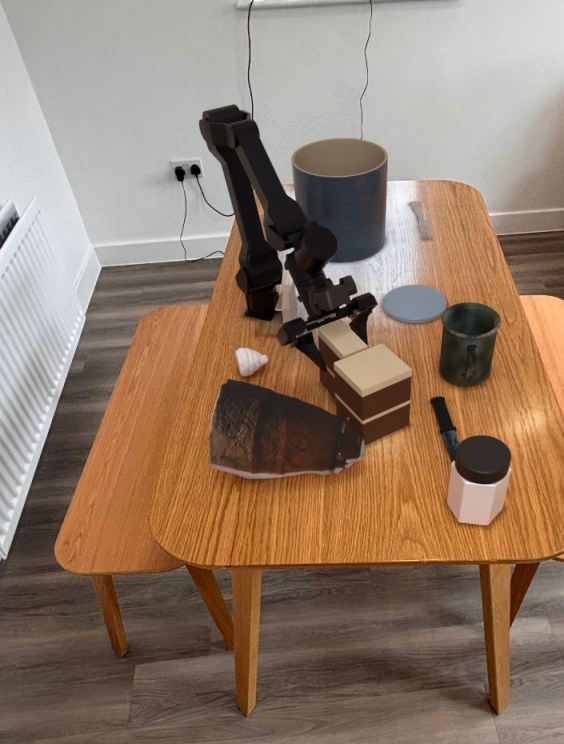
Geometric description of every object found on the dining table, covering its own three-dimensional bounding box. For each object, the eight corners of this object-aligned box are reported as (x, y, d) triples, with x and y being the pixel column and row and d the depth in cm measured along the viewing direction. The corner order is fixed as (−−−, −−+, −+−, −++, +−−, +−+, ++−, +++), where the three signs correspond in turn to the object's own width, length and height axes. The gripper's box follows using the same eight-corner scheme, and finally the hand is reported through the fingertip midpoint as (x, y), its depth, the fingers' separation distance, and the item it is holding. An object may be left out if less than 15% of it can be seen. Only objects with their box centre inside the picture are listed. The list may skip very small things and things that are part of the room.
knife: (429, 397, 119) (445, 395, 120) (429, 403, 121) (445, 400, 121) (456, 476, 106) (473, 473, 106) (455, 481, 107) (473, 479, 107)
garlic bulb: (272, 376, 127) (269, 353, 123) (242, 382, 126) (238, 359, 122) (266, 360, 130) (262, 337, 126) (237, 366, 129) (233, 343, 125)
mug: (489, 354, 130) (497, 301, 120) (496, 401, 120) (506, 347, 111) (435, 354, 130) (439, 301, 121) (438, 401, 121) (444, 347, 111)
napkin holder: (276, 324, 139) (272, 293, 133) (283, 306, 144) (279, 276, 138) (292, 325, 139) (288, 294, 133) (298, 307, 143) (295, 276, 137)
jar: (468, 479, 107) (476, 425, 98) (510, 501, 104) (523, 448, 95) (437, 510, 103) (443, 457, 94) (480, 535, 100) (490, 483, 90)
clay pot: (370, 444, 96) (206, 410, 95) (352, 516, 107) (204, 486, 106) (377, 392, 107) (231, 360, 106) (360, 462, 118) (227, 434, 117)
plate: (374, 316, 140) (374, 312, 139) (394, 284, 148) (394, 280, 147) (436, 328, 136) (436, 324, 135) (453, 294, 144) (454, 290, 144)
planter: (290, 228, 167) (282, 145, 151) (371, 215, 170) (371, 132, 155) (310, 270, 153) (303, 183, 138) (398, 255, 156) (401, 168, 141)
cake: (336, 418, 118) (333, 362, 109) (381, 398, 122) (382, 342, 112) (363, 446, 113) (361, 390, 104) (409, 425, 117) (412, 369, 107)
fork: (418, 211, 176) (418, 200, 174) (431, 239, 161) (432, 227, 159) (408, 212, 176) (408, 201, 174) (420, 239, 161) (421, 228, 159)
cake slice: (319, 381, 125) (317, 328, 115) (341, 372, 126) (341, 319, 116) (343, 409, 120) (343, 355, 110) (366, 399, 122) (368, 346, 112)
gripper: (275, 280, 104) (314, 370, 106) (371, 248, 110) (407, 333, 112) (261, 304, 114) (297, 385, 116) (349, 273, 121) (382, 350, 122)
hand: (346, 363), depth 116 cm, fingers closed on cake slice, 8 cm apart
